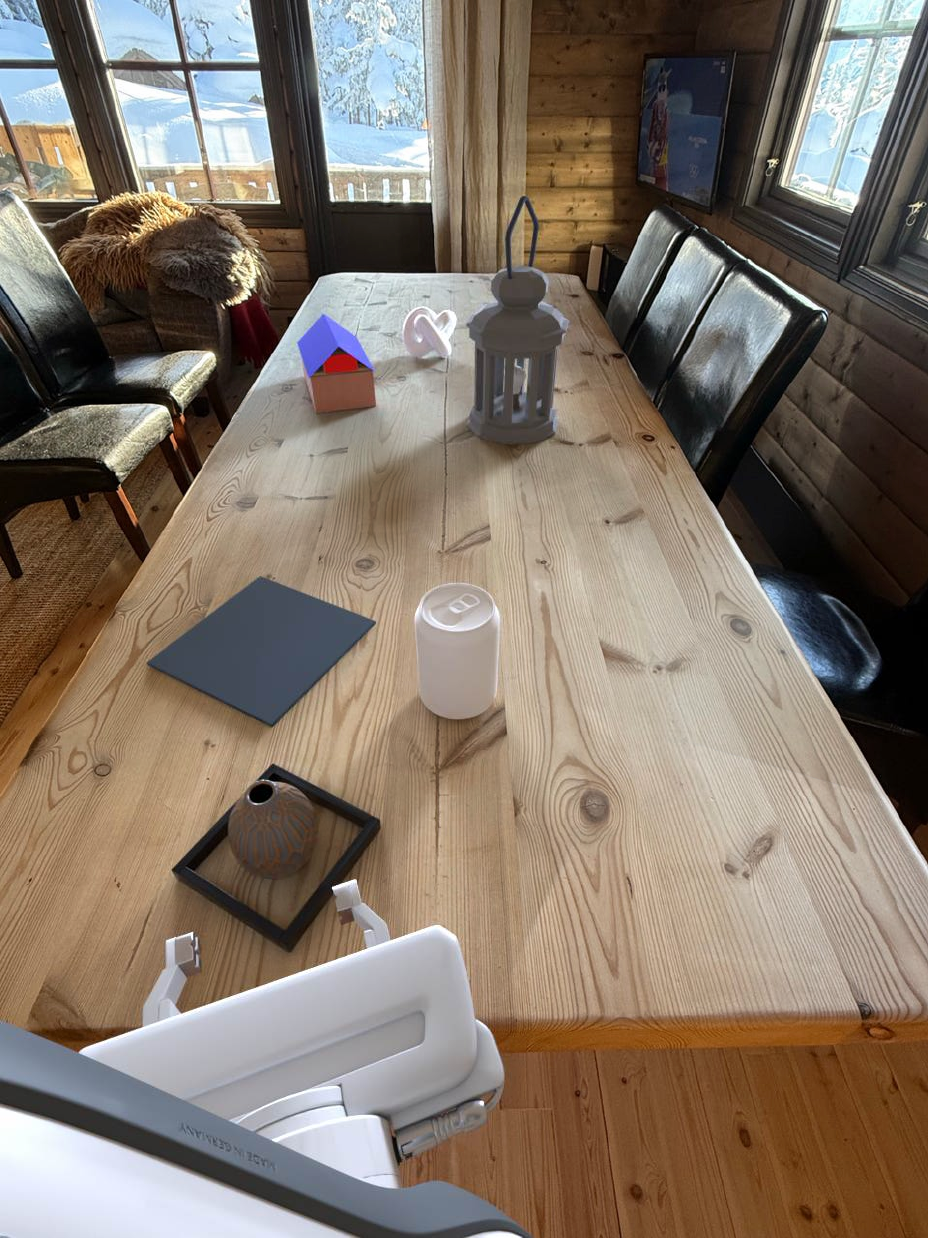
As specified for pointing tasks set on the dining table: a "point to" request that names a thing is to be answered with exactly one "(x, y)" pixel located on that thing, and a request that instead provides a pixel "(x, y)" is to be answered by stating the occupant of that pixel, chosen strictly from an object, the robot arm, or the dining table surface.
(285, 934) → the black open square frame
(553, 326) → the lantern
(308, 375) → the house
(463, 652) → the beverage can
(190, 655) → the mat
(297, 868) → the vase
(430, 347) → the white knot sculpture
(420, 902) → the dining table surface
